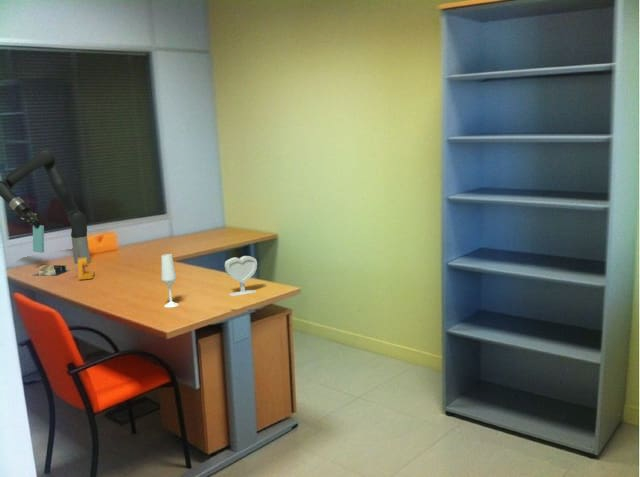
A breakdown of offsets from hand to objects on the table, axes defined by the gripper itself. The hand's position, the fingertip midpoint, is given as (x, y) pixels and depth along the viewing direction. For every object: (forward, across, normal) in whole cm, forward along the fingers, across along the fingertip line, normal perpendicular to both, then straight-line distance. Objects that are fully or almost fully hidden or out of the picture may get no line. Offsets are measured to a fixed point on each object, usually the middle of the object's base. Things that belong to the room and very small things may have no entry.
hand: (39, 226), depth 361 cm
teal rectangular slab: (+8, 0, +13) cm, 15 cm away
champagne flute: (+98, -54, -59) cm, 126 cm away
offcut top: (+22, -8, +12) cm, 27 cm away
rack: (+25, -4, +14) cm, 29 cm away
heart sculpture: (+117, -31, -77) cm, 143 cm away
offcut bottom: (+24, -8, +14) cm, 29 cm away
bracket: (+45, -10, -5) cm, 46 cm away
